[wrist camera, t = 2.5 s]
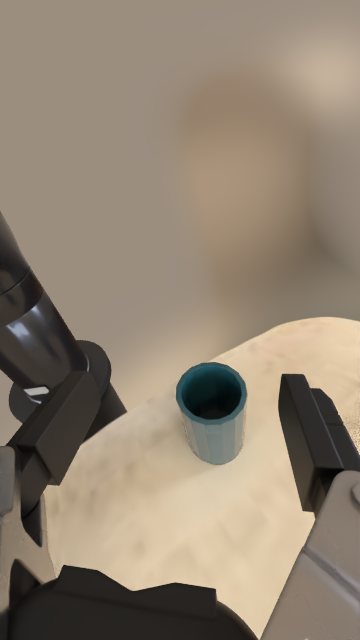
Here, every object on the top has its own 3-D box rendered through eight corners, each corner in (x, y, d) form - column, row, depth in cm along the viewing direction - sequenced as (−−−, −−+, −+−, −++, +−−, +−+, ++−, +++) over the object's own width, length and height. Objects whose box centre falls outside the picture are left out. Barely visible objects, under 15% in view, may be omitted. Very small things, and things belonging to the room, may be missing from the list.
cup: (177, 435, 31) (162, 392, 24) (212, 399, 34) (208, 352, 27) (218, 478, 27) (214, 441, 20) (255, 433, 30) (261, 387, 23)
